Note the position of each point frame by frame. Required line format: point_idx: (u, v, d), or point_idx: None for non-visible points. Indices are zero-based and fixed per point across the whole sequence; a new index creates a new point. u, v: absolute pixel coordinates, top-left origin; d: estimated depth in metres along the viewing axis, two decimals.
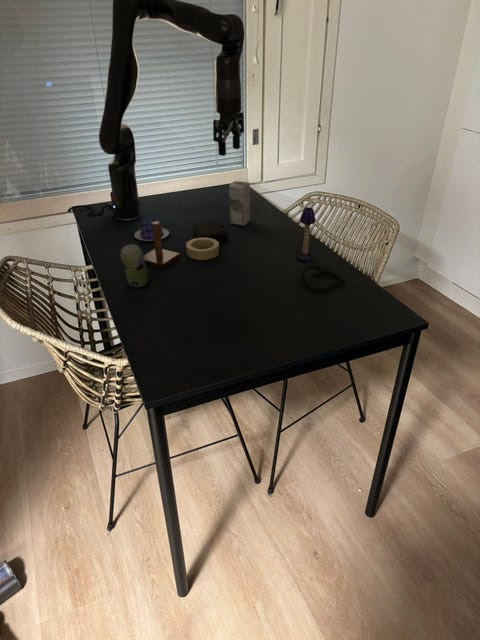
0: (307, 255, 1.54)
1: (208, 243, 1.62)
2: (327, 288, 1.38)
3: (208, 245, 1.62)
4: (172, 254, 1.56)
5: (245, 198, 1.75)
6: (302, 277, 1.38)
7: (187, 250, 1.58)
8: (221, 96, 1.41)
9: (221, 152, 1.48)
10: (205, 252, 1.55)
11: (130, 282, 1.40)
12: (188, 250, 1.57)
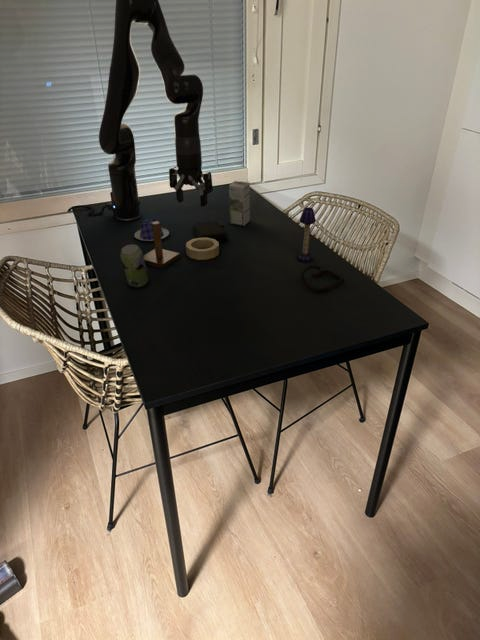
0: (307, 255, 1.54)
1: (208, 243, 1.62)
2: (327, 288, 1.38)
3: (208, 245, 1.62)
4: (172, 254, 1.56)
5: (245, 198, 1.75)
6: (302, 277, 1.38)
7: (187, 250, 1.58)
8: None
9: None
10: (205, 252, 1.55)
11: (130, 282, 1.40)
12: (188, 250, 1.57)
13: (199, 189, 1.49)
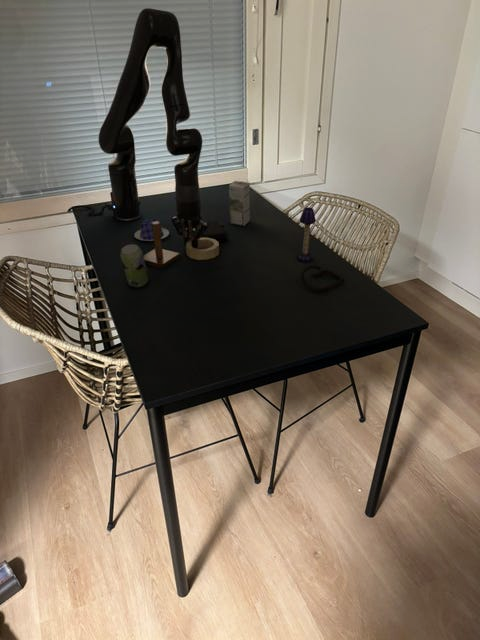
0: (307, 255, 1.54)
1: (208, 243, 1.62)
2: (327, 288, 1.38)
3: (208, 245, 1.62)
4: (172, 254, 1.56)
5: (245, 198, 1.75)
6: (302, 277, 1.38)
7: (187, 250, 1.58)
8: None
9: None
10: (205, 252, 1.55)
11: (130, 282, 1.40)
12: (188, 250, 1.57)
13: (192, 234, 1.57)
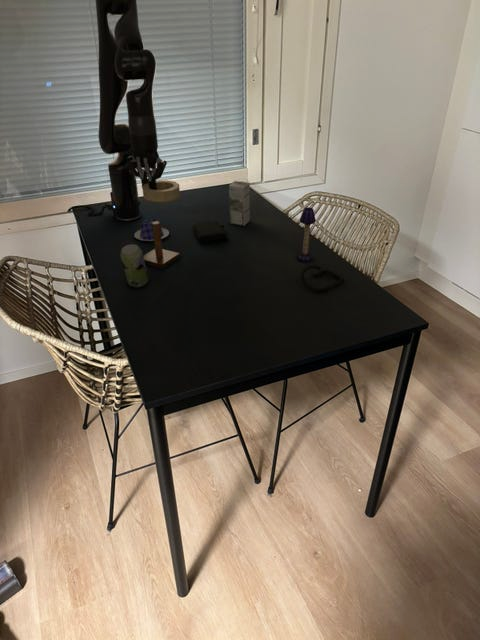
0: (307, 255, 1.54)
1: (168, 186, 1.48)
2: (327, 288, 1.38)
3: (168, 188, 1.48)
4: (172, 254, 1.56)
5: (245, 198, 1.75)
6: (302, 277, 1.38)
7: (144, 192, 1.43)
8: None
9: None
10: (163, 193, 1.40)
11: (130, 282, 1.40)
12: (145, 192, 1.42)
13: (149, 174, 1.43)
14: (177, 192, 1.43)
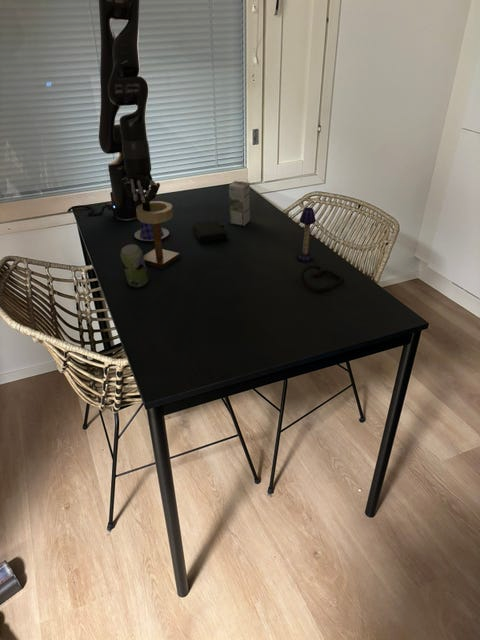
0: (307, 255, 1.54)
1: (161, 207, 1.50)
2: (327, 288, 1.38)
3: (161, 209, 1.50)
4: (172, 254, 1.56)
5: (245, 198, 1.75)
6: (302, 277, 1.38)
7: (137, 214, 1.45)
8: None
9: None
10: (156, 215, 1.43)
11: (130, 282, 1.40)
12: (138, 213, 1.45)
13: (142, 196, 1.45)
14: (170, 213, 1.46)
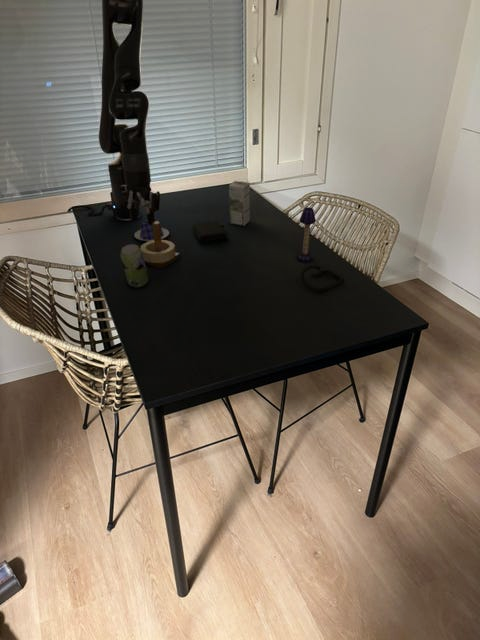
0: (307, 255, 1.54)
1: (164, 245, 1.57)
2: (327, 288, 1.38)
3: (164, 247, 1.58)
4: None
5: (245, 198, 1.75)
6: (302, 277, 1.38)
7: None
8: None
9: None
10: (159, 255, 1.50)
11: (130, 282, 1.40)
12: (142, 253, 1.52)
13: (146, 207, 1.47)
14: (172, 253, 1.53)
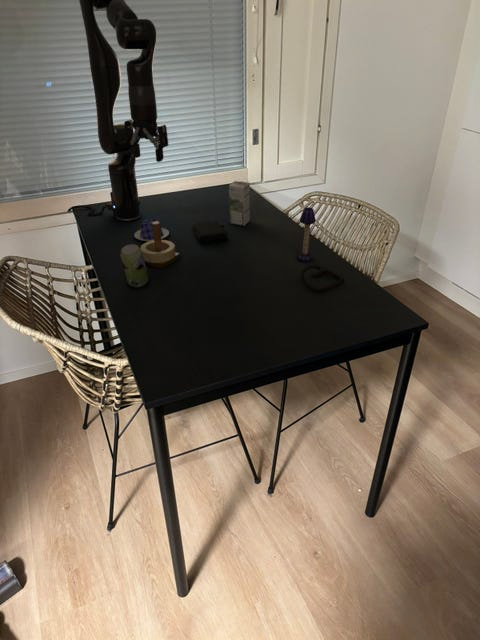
0: (307, 255, 1.54)
1: (164, 245, 1.57)
2: (327, 288, 1.38)
3: (164, 247, 1.58)
4: None
5: (245, 198, 1.75)
6: (302, 277, 1.38)
7: None
8: None
9: None
10: (159, 255, 1.50)
11: (130, 282, 1.40)
12: (142, 253, 1.52)
13: (154, 143, 1.44)
14: (172, 253, 1.53)
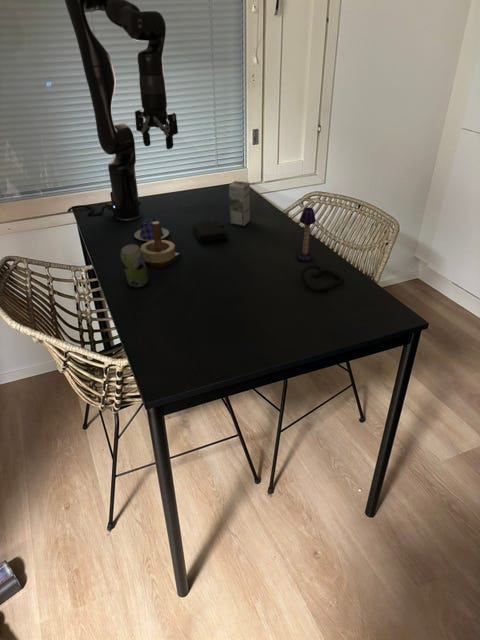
0: (307, 255, 1.54)
1: (164, 245, 1.57)
2: (327, 288, 1.38)
3: (164, 247, 1.58)
4: None
5: (245, 198, 1.75)
6: (302, 277, 1.38)
7: None
8: None
9: None
10: (159, 255, 1.50)
11: (130, 282, 1.40)
12: (142, 253, 1.52)
13: (164, 131, 1.50)
14: (172, 253, 1.53)
